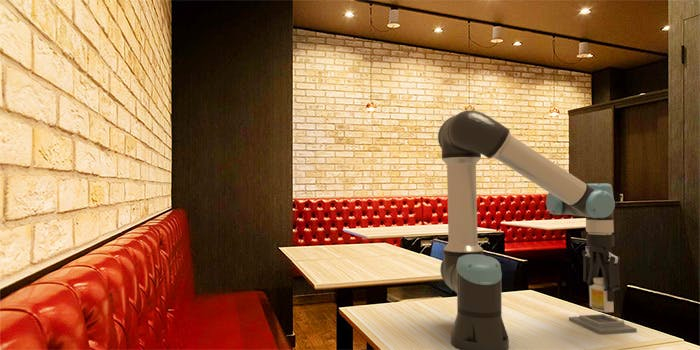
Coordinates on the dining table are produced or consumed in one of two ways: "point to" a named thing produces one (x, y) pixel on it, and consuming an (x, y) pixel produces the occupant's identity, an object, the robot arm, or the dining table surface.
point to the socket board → (602, 324)
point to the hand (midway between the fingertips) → (601, 308)
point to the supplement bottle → (598, 294)
